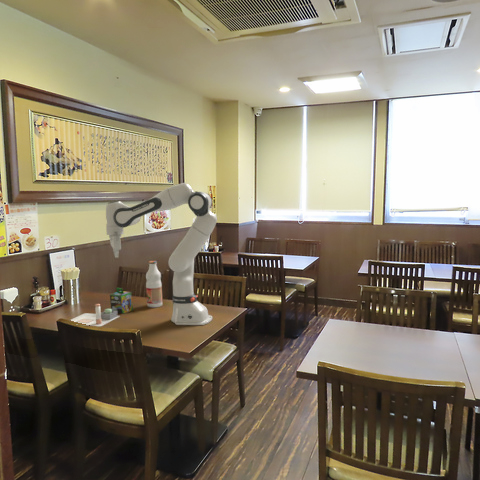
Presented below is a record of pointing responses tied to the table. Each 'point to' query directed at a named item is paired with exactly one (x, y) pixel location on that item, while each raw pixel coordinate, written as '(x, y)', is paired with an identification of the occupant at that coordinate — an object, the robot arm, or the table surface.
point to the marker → (98, 314)
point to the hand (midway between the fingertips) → (116, 256)
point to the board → (91, 318)
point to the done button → (108, 311)
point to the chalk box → (121, 301)
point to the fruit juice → (153, 286)
